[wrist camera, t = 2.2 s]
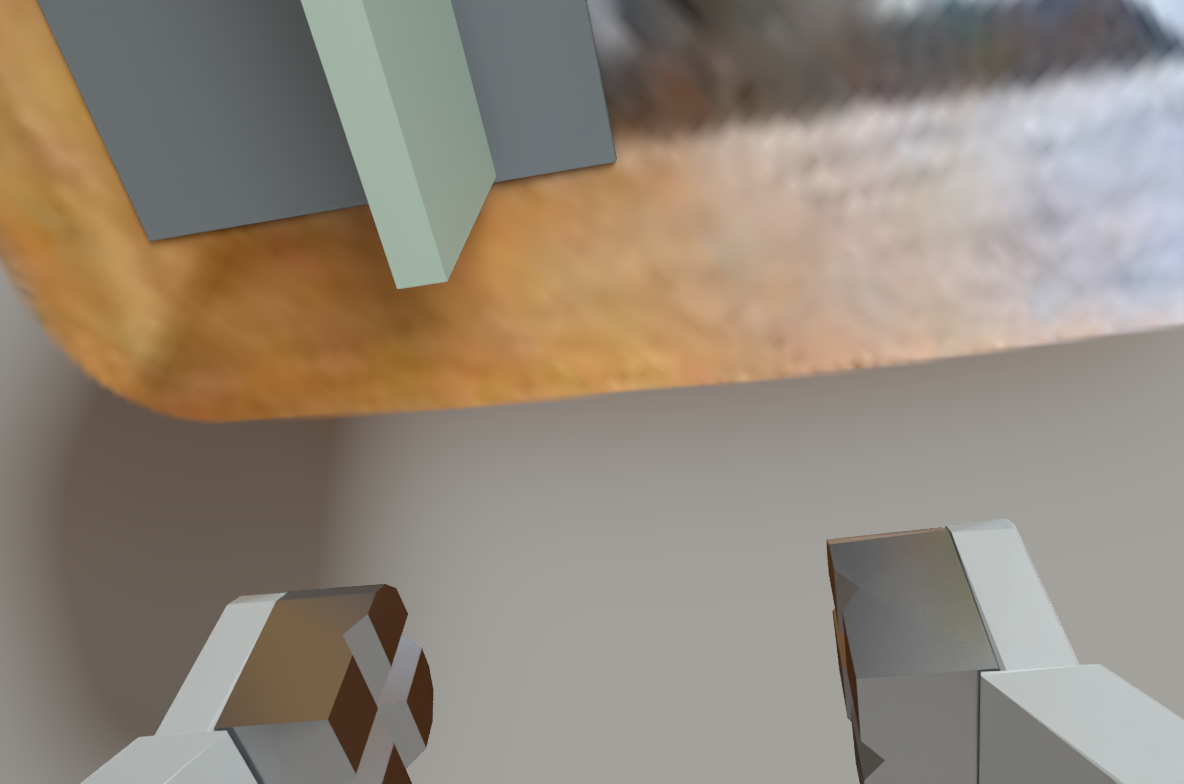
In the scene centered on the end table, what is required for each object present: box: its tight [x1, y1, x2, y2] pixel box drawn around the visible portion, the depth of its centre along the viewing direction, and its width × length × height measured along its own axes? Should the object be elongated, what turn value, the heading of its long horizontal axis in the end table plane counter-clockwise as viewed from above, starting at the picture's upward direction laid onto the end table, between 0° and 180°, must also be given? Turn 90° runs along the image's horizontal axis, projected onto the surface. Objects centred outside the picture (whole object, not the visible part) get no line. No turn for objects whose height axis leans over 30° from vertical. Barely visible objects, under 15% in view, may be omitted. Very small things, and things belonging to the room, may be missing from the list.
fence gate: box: [301, 0, 496, 289], centre depth 23 cm, size 9×1×7 cm, turn 11°
